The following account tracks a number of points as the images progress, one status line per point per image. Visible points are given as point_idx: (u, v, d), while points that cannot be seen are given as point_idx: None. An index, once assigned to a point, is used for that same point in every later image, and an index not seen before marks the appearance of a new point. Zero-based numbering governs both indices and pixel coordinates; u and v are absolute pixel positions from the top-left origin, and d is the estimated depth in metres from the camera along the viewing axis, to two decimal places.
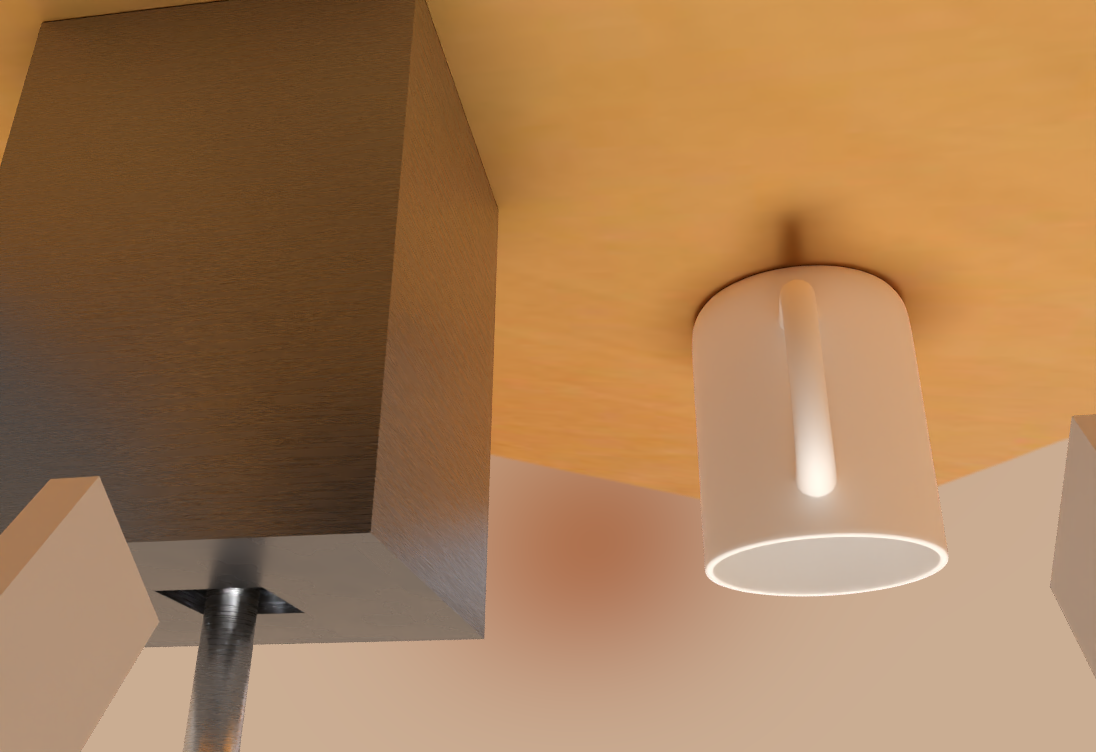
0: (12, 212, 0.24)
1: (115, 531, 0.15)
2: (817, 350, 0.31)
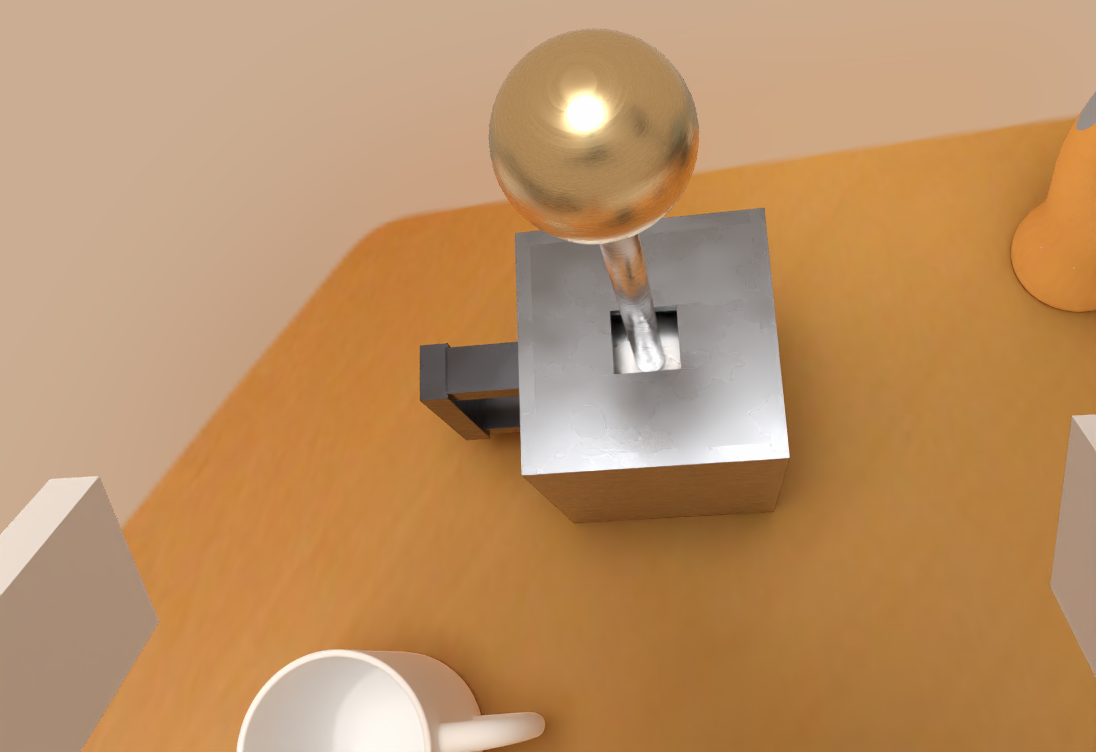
0: None
1: (115, 531, 0.15)
2: (539, 734, 0.45)
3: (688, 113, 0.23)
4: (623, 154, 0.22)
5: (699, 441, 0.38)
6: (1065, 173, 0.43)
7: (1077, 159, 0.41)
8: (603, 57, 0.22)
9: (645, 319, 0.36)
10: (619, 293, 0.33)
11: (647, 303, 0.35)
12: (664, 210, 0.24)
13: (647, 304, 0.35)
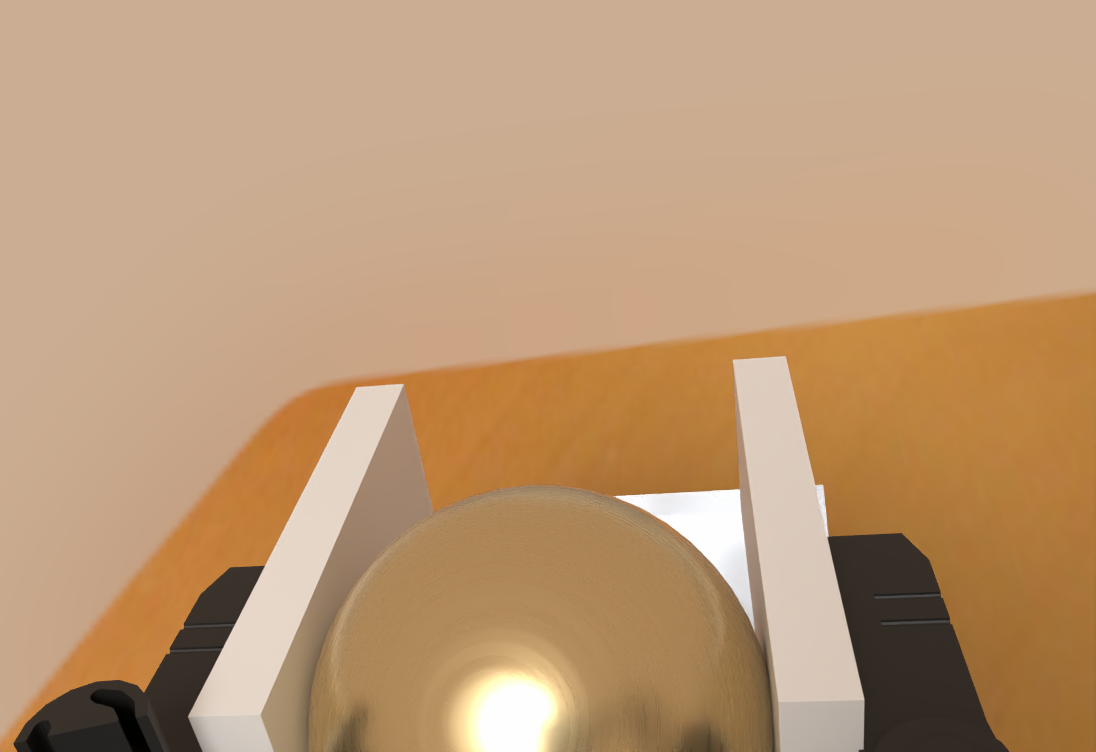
0: None
1: (412, 436, 0.16)
2: None
3: (757, 731, 0.10)
4: None
5: None
6: None
7: None
8: (555, 649, 0.09)
9: None
10: None
11: None
12: None
13: None
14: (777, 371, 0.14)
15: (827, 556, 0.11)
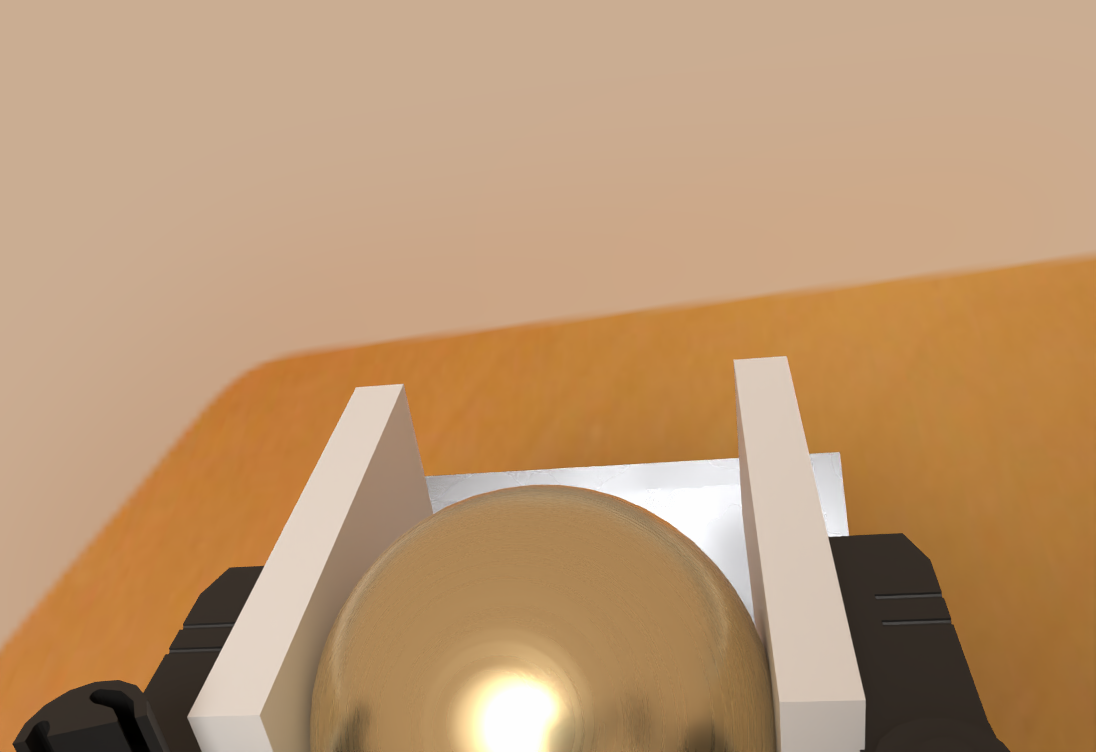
0: None
1: (412, 437, 0.16)
2: None
3: (761, 731, 0.10)
4: None
5: None
6: None
7: None
8: (561, 647, 0.09)
9: None
10: None
11: None
12: None
13: None
14: (778, 371, 0.14)
15: (828, 556, 0.11)
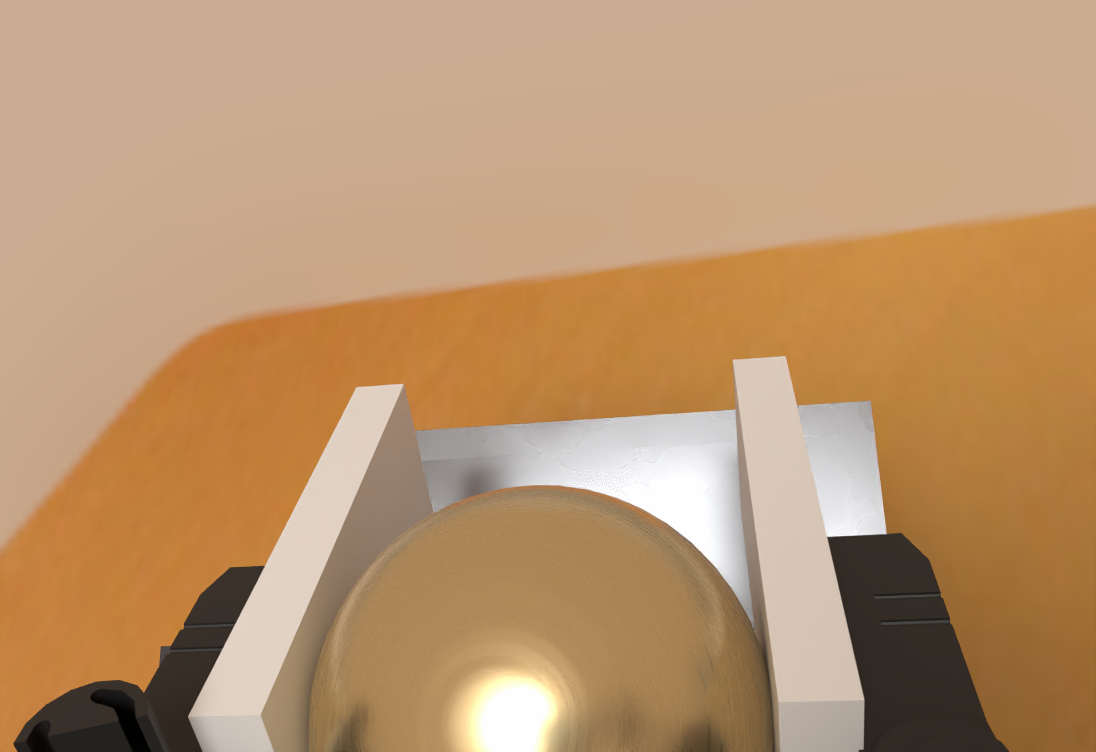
0: None
1: (413, 436, 0.16)
2: None
3: (757, 731, 0.10)
4: None
5: None
6: None
7: None
8: (556, 647, 0.09)
9: None
10: None
11: None
12: None
13: None
14: (777, 371, 0.14)
15: (827, 556, 0.11)
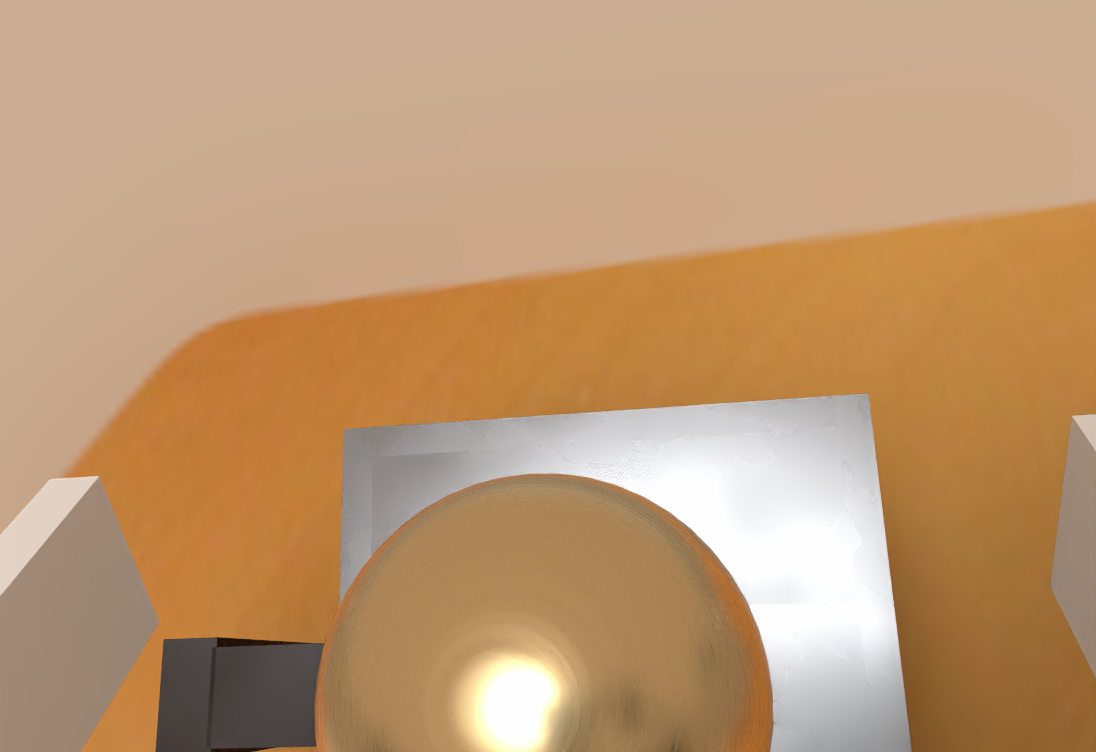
0: None
1: (115, 531, 0.15)
2: None
3: (756, 713, 0.10)
4: None
5: None
6: None
7: None
8: (560, 630, 0.09)
9: None
10: None
11: None
12: None
13: None
14: None
15: None
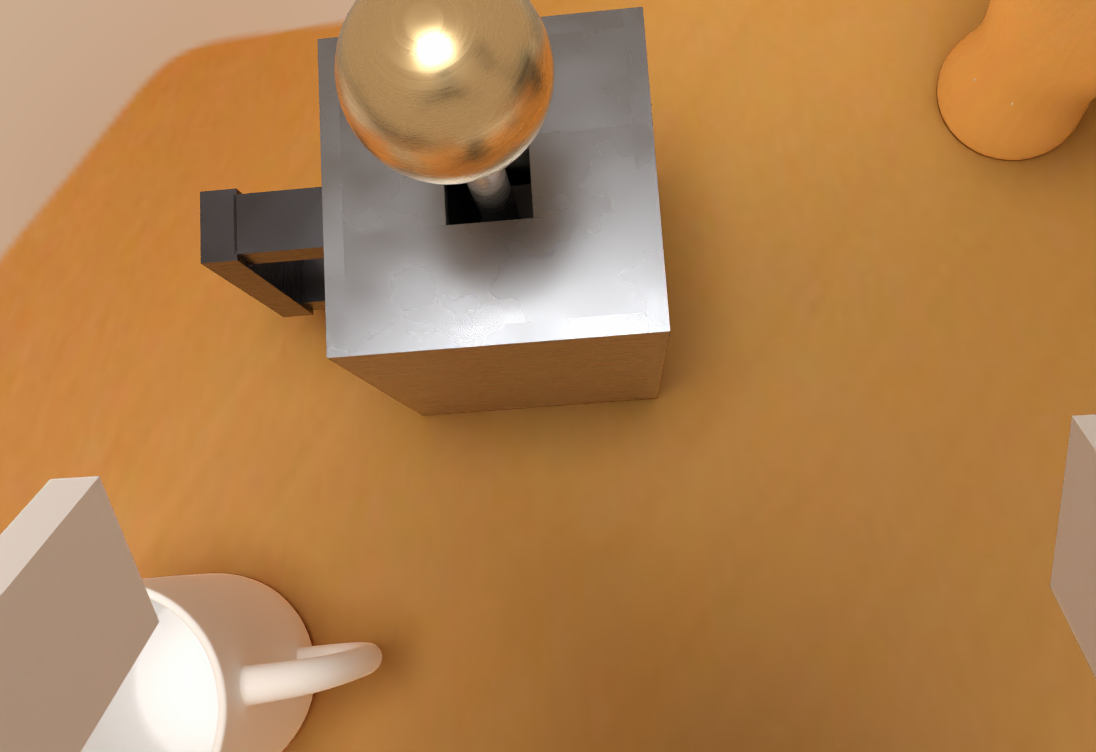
0: None
1: (115, 531, 0.15)
2: (372, 670, 0.37)
3: (541, 51, 0.22)
4: (471, 97, 0.21)
5: (556, 311, 0.30)
6: None
7: None
8: None
9: None
10: (487, 220, 0.33)
11: None
12: (518, 151, 0.23)
13: None
14: None
15: None
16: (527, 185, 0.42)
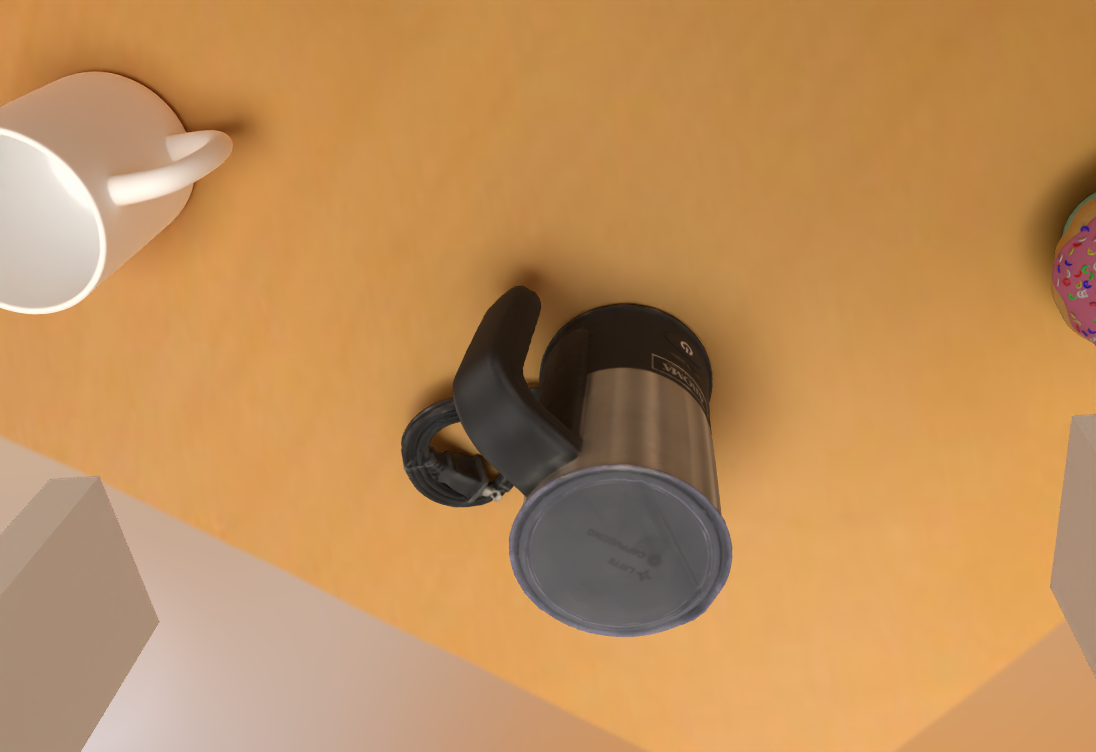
0: None
1: (115, 531, 0.15)
2: (222, 162, 0.45)
3: None
4: None
5: None
6: None
7: None
8: None
9: None
10: None
11: None
12: None
13: None
14: None
15: None
16: None
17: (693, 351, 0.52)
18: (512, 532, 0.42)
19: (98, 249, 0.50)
